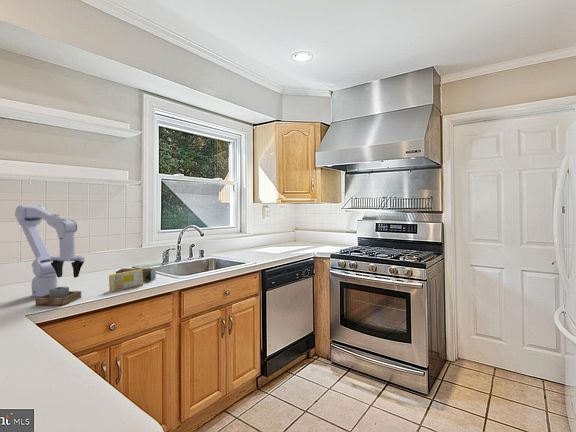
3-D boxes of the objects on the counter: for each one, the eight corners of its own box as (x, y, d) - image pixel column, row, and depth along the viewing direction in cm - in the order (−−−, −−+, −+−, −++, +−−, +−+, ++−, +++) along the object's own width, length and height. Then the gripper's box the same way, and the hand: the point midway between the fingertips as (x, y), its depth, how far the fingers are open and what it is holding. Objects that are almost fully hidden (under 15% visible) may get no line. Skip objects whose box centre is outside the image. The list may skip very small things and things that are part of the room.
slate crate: (49, 301, 140) (49, 289, 140) (59, 297, 145) (59, 286, 145) (59, 301, 139) (58, 290, 139) (69, 298, 144) (68, 287, 144)
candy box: (141, 284, 172) (141, 269, 171) (143, 285, 170) (143, 269, 170) (109, 291, 159) (108, 274, 159) (110, 291, 158) (110, 274, 157)
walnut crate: (35, 305, 136) (35, 298, 136) (55, 297, 148) (55, 291, 148) (63, 305, 136) (63, 298, 136) (81, 297, 148) (80, 291, 147)
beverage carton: (151, 281, 178) (151, 270, 178) (115, 282, 176) (114, 270, 176) (156, 278, 186) (155, 267, 185) (121, 279, 184) (121, 267, 184)
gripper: (88, 246, 151) (89, 275, 152) (58, 246, 152) (58, 274, 152) (78, 248, 144) (79, 278, 145) (46, 248, 145) (47, 278, 145)
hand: (67, 277), depth 148 cm, fingers open, 7 cm apart
